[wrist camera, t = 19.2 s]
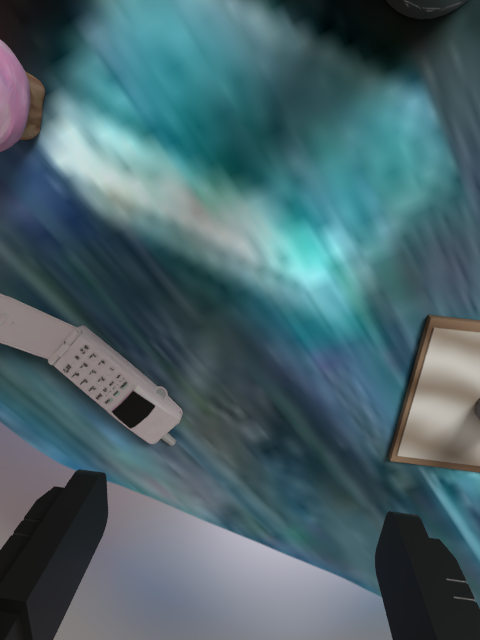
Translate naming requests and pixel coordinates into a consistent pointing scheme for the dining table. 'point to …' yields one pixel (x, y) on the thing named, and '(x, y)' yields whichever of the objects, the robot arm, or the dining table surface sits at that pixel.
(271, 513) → the dining table surface
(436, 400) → the clipboard
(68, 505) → the robot arm
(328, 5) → the dining table surface
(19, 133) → the cupcake
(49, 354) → the mobile phone
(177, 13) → the dining table surface
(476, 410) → the grey and red cylinder
